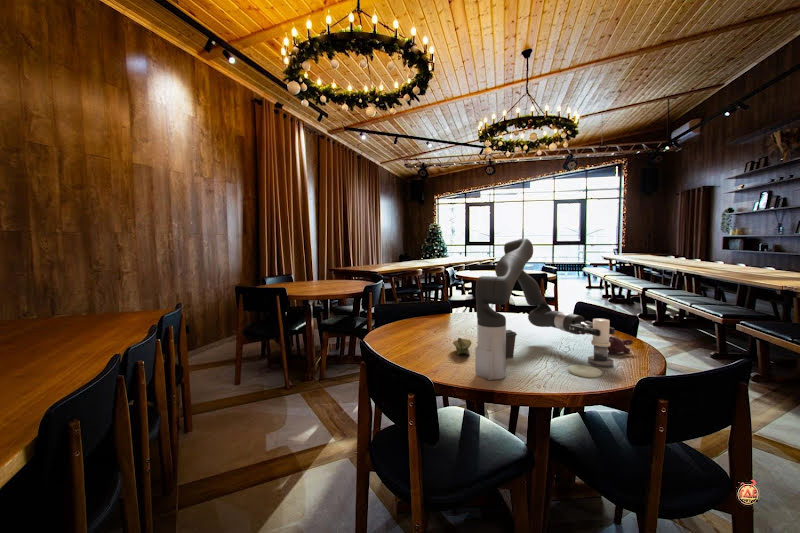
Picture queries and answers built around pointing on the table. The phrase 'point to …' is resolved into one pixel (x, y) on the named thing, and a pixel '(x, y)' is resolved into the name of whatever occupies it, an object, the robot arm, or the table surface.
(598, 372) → the coaster
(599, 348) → the dark grey stepped piece
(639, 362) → the table surface
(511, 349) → the coffee cup
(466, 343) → the fruit
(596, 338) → the cream white cylinder
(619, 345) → the brown turtle figurine
